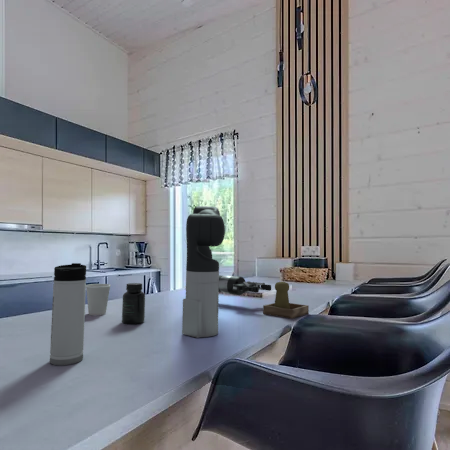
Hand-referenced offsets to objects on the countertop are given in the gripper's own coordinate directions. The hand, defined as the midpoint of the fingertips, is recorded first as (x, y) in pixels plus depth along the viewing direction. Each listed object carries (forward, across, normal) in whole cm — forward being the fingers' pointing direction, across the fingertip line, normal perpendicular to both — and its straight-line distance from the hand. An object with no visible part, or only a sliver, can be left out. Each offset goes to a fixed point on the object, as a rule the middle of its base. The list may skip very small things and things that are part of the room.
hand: (264, 288), depth 130 cm
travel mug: (+2, -76, +8) cm, 77 cm away
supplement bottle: (-18, -46, +8) cm, 50 cm away
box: (+9, 0, +8) cm, 12 cm away
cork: (+9, -2, +8) cm, 12 cm away
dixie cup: (-38, -47, +8) cm, 62 cm away
